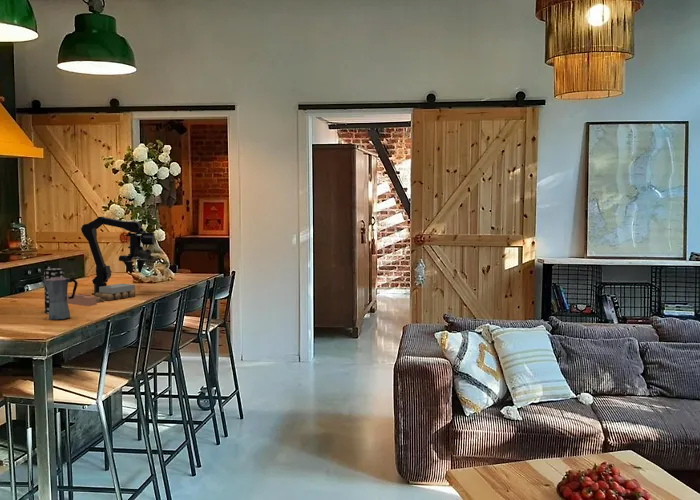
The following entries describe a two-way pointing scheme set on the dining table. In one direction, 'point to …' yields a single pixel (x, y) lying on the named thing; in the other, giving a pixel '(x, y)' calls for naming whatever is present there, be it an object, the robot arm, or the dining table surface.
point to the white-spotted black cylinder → (47, 275)
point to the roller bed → (114, 295)
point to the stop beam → (82, 299)
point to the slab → (116, 288)
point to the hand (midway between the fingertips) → (135, 273)
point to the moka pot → (59, 296)
